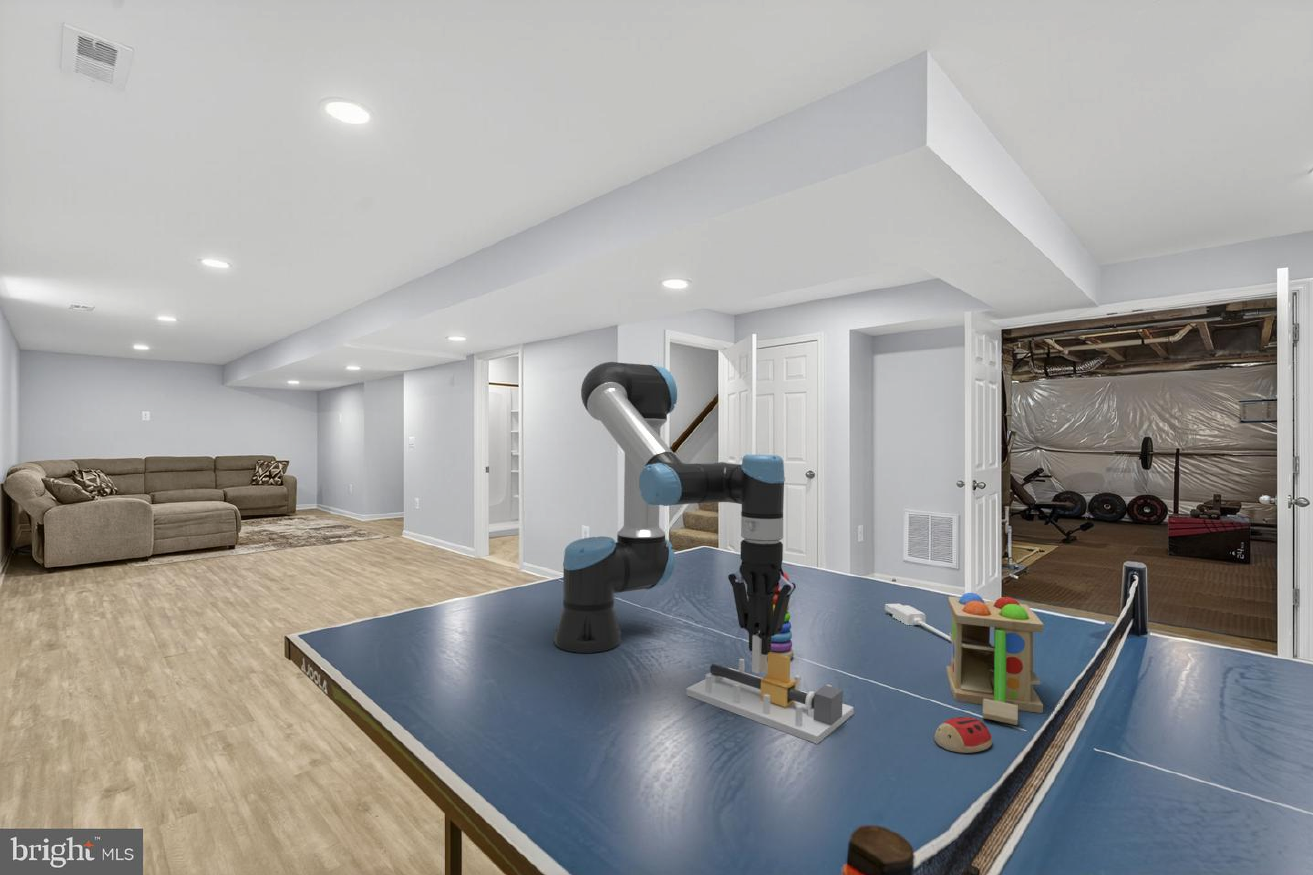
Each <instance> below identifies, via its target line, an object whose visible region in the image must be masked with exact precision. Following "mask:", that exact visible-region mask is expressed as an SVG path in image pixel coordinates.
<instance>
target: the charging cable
mask: <svg viewBox="0 0 1313 875" xmlns="http://www.w3.org/2000/svg"><path fill="white" fill-rule="evenodd" d="M884 611H886V612H888V613H890V614H892V618H893V619H894V618H895V620H896V619H897V620H896V621H898V622H900V621H901V622H900V623H902V624H903V623H904V624H903V625H905V624H906V626H907V625H920V624H921V626H923V627H925V628H926V629H928V630H930V631H932V632H934V633H935V634H938V635H939V636H941V637H943V638H944V639H946V640H948V641H950V642H951V639H950V635H949V634H946V633H944V632H942V631H941V630H939V629H937V628H935V627H933V626H932V625H929V624H927V623H926V618H927V617H926V616H927V615H926V614H925V613H924V612H922V611H920V610H919V609H916V608H915V607H913V606H912V605H911V606H910V605H908V604H907V605H906V604H905V605H903V604H901V603H885V604H884Z"/></svg>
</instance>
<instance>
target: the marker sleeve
mask: <svg viewBox="0 0 1313 875" xmlns="http://www.w3.org/2000/svg"><path fill="white" fill-rule="evenodd" d="M767 667H768V675H767V676H766V675H765V676H763V677H761V699H763V695H765V694H768V695H770V702H772V703H775V704H778V705H781V706H784V707H787V706H788V705H790V704H791V703H793V702H794V701H793V700H790V699H787V697H788V688H792V689H795V690H796V680H795V679H792V678H791V659H790V657H788V656H785V655H781V654H778V653H774V652H768V660H767Z"/></svg>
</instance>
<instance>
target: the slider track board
mask: <svg viewBox="0 0 1313 875" xmlns="http://www.w3.org/2000/svg"><path fill="white" fill-rule="evenodd" d="M745 660H746V659H744V658H739V659H738V669H735V668H731V667H725V666H722V665H719V664H716V663H712V664H711V666H710V667H709V672H708V673H706V674H705V678H704V679H702V680H700V681H698V682H696V683H694V684H692V685H690V686H688V687H686V688H685V696H688V697H690V698H693V699H696V700H698V701H701V702H703V703H706V704H709V705H712V706H714V707H717V708H720V709H722V710H725V711H727V712H730V713H733V714H736V715H739V716H741V717H744V718H747V719H749V720H752V721H755V722H757V723H760V724H762V725H765V726H768V727H771V728H773V729H776V730H779V731H782V732H783V733H786V734H790V735H792V736H794V737H798V738H800V739H802V740H805V741H808V742H811V743H814V744H817V745H818V744H819V743H821V741H823V740H824V739H826V737H827V736H829V735H830V734H831V733H833V732H834V731H835V730H836V729H838V727H840V726H841V725H842V724H843V723H844V722H846V721H848V719H849V718H851V717H852V716H853V715H854V710H855V709H854V708H855V707H854V706H851V705H849V704H847V703H846V704H845V703H843V702H844V701H843V694H844V693H843V692H844V691H843V689H839V688H837V687H833V686H832V685H830V684H826V685H824V686H822V687H821V688H819V690H817V691H812V690H809V691H808V692H807V691H803V690H801V686H802V685H801V682H802V680H801V679H802V678H801V675H797V674H796V675H795V676H794V680H796V690H795V689H792V688H788V697H787V699H790V700H793V701H794V702H793V703H791V704H790V705H788V706H787V707H784V706H781V705H778V704H775V703H772V702H770V695H768V694H765V695H763V699H761V678H762V677H760V676H757V675H755V674H751V673H748V672H745V668H746V667H745V664H746V663H745ZM767 675H768V666H767V670H765V676H767ZM850 716H851V717H850Z"/></svg>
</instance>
